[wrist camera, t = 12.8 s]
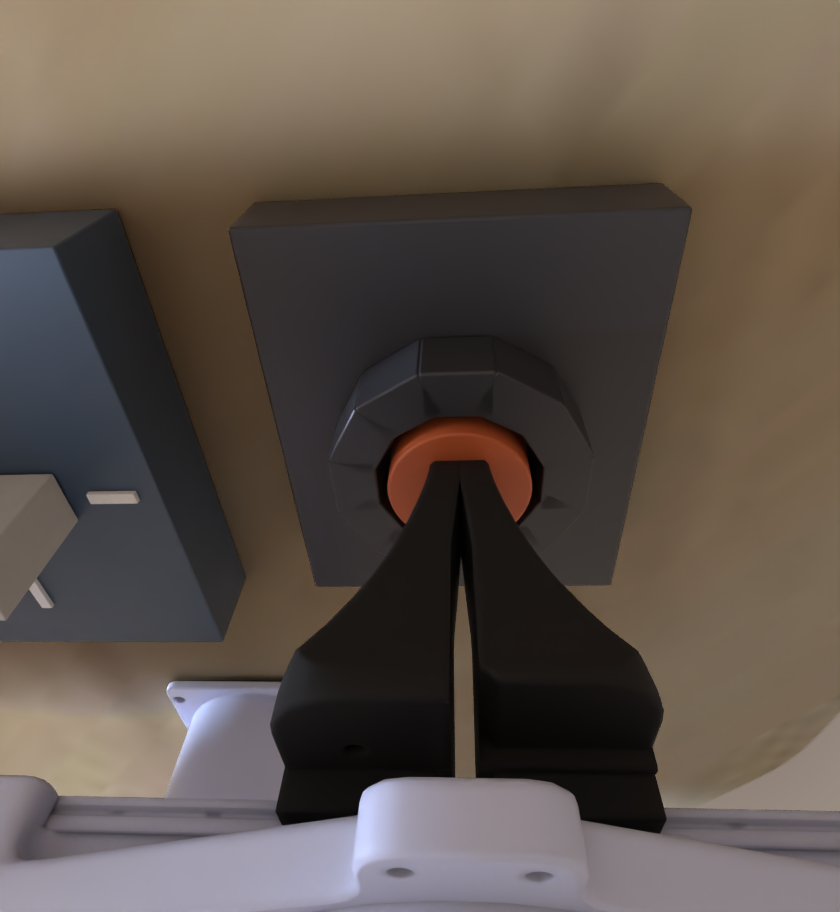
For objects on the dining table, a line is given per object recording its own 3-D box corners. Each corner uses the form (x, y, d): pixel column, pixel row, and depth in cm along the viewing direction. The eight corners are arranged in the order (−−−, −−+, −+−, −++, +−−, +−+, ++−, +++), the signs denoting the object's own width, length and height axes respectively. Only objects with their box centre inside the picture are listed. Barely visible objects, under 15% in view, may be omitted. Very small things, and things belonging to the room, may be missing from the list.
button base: (598, 538, 21) (624, 632, 18) (325, 541, 22) (304, 631, 19) (663, 181, 14) (727, 233, 11) (252, 201, 15) (198, 255, 11)
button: (521, 499, 17) (528, 543, 16) (397, 501, 17) (392, 544, 16) (529, 391, 15) (537, 432, 13) (386, 396, 15) (380, 435, 14)
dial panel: (246, 577, 23) (221, 646, 21) (-17, 579, 24) (-71, 645, 22) (117, 208, 15) (49, 249, 12) (-283, 227, 16) (-424, 269, 13)
